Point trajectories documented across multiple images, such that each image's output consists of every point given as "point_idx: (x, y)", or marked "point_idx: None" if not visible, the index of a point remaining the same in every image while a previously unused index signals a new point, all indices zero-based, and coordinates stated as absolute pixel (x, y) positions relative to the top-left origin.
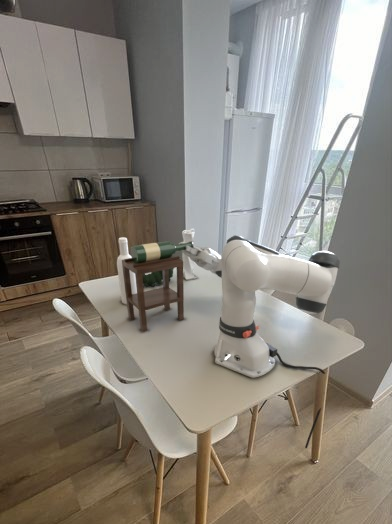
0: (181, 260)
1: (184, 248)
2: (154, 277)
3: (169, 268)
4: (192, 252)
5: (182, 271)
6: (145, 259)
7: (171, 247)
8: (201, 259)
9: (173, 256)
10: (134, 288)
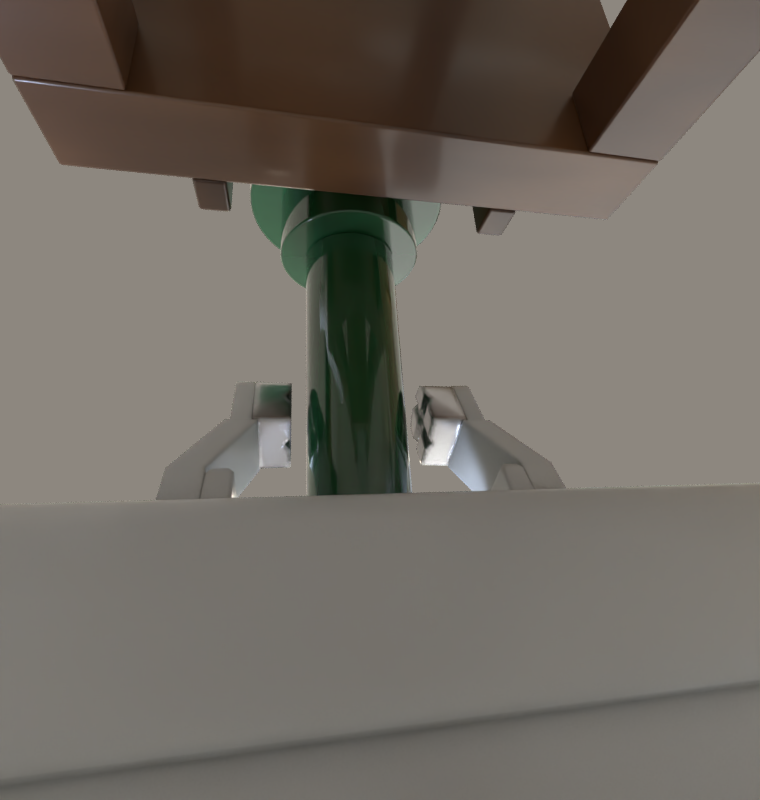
0: (577, 209)
1: (403, 392)
2: None
3: (598, 2)
4: (521, 454)
5: (735, 57)
6: None
7: (416, 239)
8: (755, 483)
9: (361, 188)
10: None
